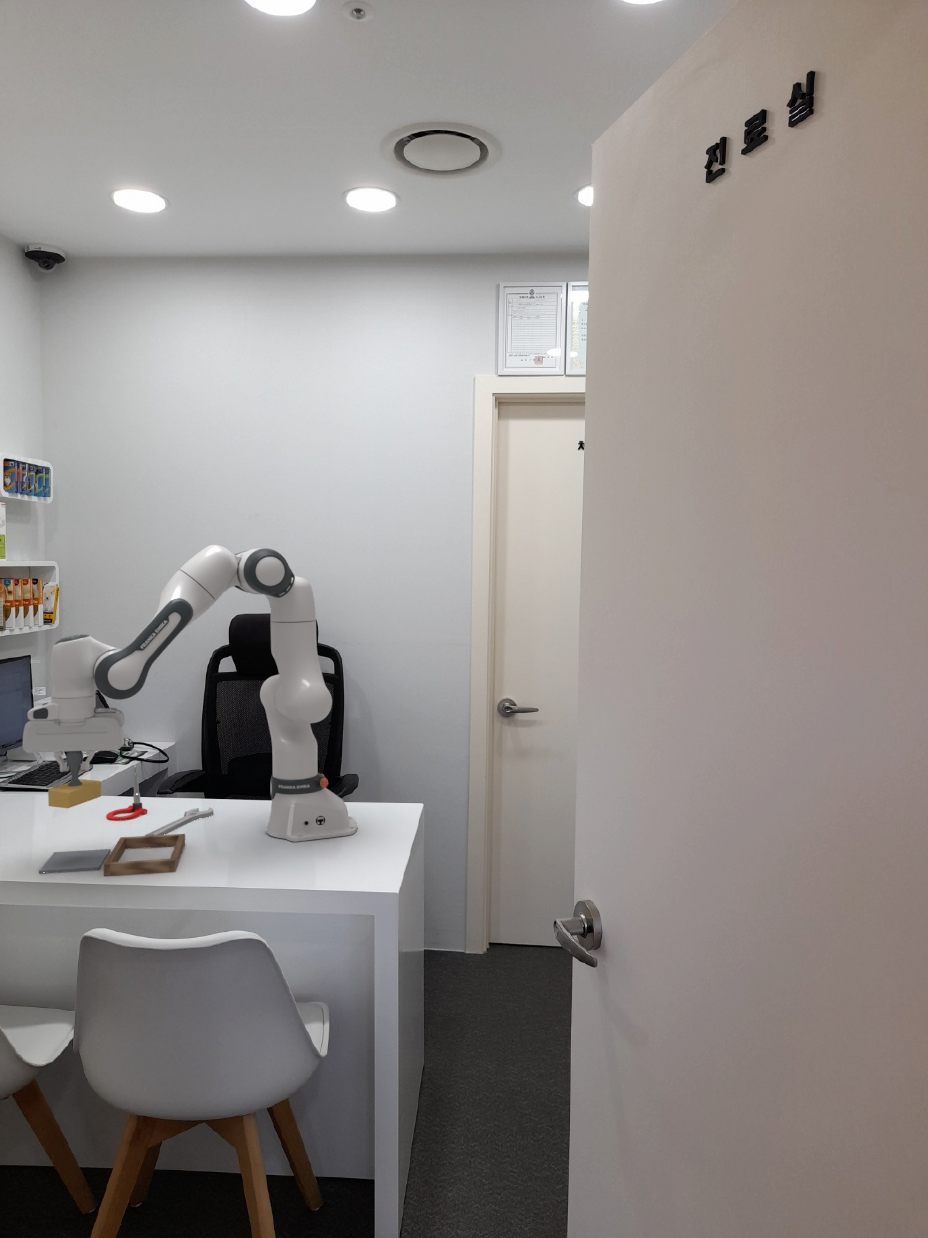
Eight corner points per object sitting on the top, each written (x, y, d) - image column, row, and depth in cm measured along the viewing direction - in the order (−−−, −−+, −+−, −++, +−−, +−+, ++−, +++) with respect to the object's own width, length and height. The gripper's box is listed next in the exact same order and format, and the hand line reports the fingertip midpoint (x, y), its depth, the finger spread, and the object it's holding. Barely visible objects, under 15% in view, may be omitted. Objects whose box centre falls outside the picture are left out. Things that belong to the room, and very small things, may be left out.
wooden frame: (185, 844, 196) (185, 833, 196) (175, 871, 178) (174, 860, 178) (120, 848, 193) (120, 837, 192) (103, 876, 175) (103, 864, 174)
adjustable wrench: (151, 844, 197) (151, 836, 197) (130, 840, 200) (129, 833, 200) (217, 814, 221) (217, 808, 221) (197, 812, 223) (197, 806, 223)
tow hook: (119, 824, 212) (150, 814, 219) (116, 775, 211) (147, 767, 218) (99, 819, 216) (130, 809, 224) (96, 771, 215) (127, 763, 223)
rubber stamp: (81, 794, 188) (80, 742, 187) (102, 796, 186) (101, 744, 185) (47, 806, 178) (46, 751, 178) (69, 808, 177) (68, 753, 176)
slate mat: (110, 851, 190) (110, 849, 190) (99, 870, 178) (99, 867, 178) (54, 854, 188) (54, 852, 187) (39, 873, 176) (39, 871, 176)
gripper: (126, 705, 186) (127, 765, 187) (28, 707, 182) (29, 769, 183) (121, 709, 180) (122, 772, 181) (19, 712, 176) (20, 776, 177)
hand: (74, 770), depth 182 cm, fingers closed on rubber stamp, 3 cm apart
